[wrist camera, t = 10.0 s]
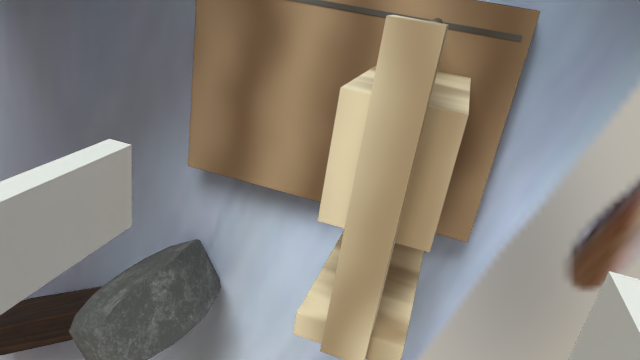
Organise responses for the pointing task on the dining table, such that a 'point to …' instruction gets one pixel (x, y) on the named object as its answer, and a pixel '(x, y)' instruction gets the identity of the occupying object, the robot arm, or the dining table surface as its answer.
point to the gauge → (385, 192)
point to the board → (339, 86)
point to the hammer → (121, 309)
